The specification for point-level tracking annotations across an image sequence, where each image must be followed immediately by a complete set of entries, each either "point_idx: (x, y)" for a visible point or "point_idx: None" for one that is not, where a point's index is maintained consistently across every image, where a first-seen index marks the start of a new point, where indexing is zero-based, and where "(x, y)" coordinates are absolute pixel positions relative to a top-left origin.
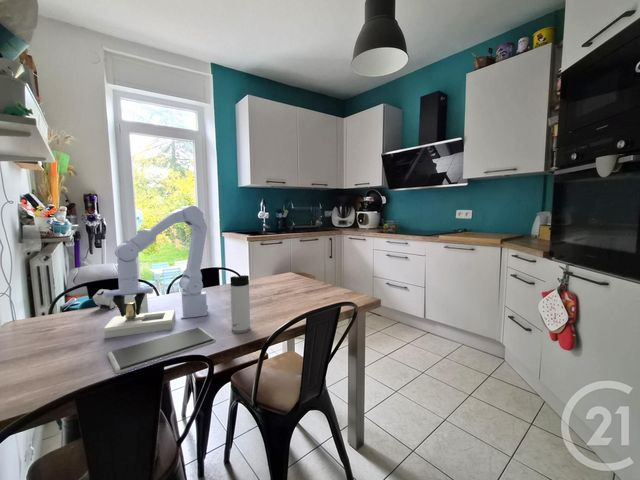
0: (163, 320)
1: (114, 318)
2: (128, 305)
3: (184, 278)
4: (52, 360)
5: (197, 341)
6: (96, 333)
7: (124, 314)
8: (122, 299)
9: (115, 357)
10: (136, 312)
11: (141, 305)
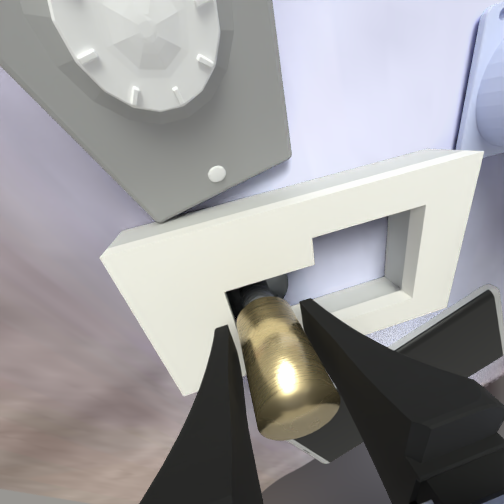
0: (415, 313)
1: (134, 291)
2: (299, 430)
3: None
4: (136, 457)
5: (469, 371)
6: (100, 318)
7: (233, 344)
8: (254, 500)
9: (306, 446)
10: (314, 346)
11: (215, 6)
